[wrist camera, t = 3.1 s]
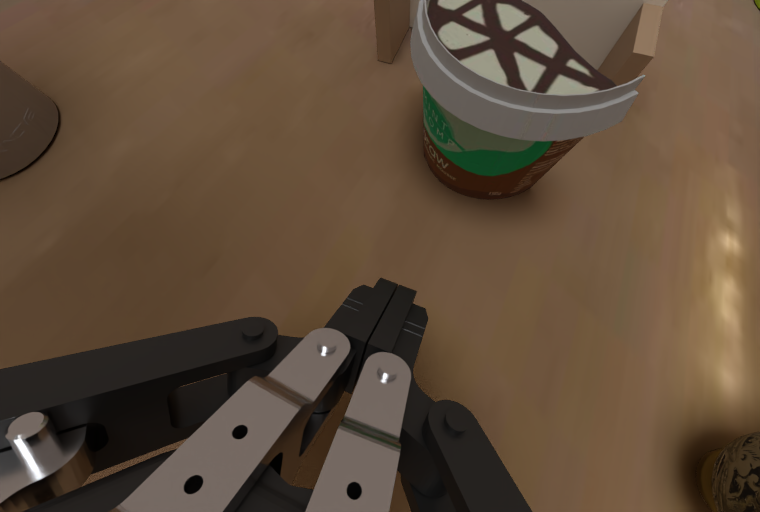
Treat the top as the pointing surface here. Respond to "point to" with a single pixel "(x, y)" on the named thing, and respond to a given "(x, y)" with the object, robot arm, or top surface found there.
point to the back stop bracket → (562, 30)
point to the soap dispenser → (757, 3)
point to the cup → (731, 476)
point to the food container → (504, 94)
